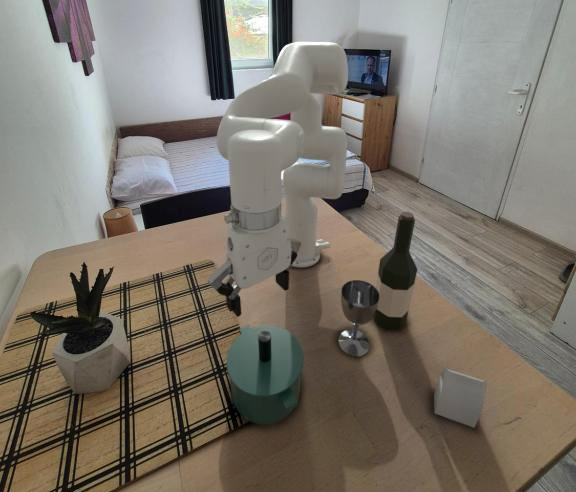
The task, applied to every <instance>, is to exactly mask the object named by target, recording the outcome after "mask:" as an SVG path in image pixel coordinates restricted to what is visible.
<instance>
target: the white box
mask: <svg viewBox="0 0 576 492" xmlns="http://www.w3.org/2000/svg"><path fill="white" fill-rule="evenodd" d="M487 382H488V381H487V380H483V379H480V378H478V377H474V376H471V375H468V374H464V373H462V372H458V371H455V370H452V369H449V368H444V369H443V371H442V372H441V373H440V374H439V378H438V381H437V383H436V387H435V391H434V394H433V403H434V405H433V407H434V414H435V415H438V416H440V417H443V418H446V419H449V420H451V421H454V422H457V423H459V424H463V425H465V426H468V427H471V428H473V429H475V428H476V425H477V423H478V420H479V418H480V416H481V414H482V411H483V408H484V404H485V397H486V396H485V395H486V390H487V386H488V383H487Z"/></svg>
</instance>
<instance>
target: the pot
mask: <svg viewBox="0 0 576 492" xmlns="http://www.w3.org/2000/svg"><path fill="white" fill-rule="evenodd" d="M251 328H252V327H251V325H250V324H246V325H245V326H243V327H240V328H239V329H238V333H239V336H240V335H241V334H242V333H244V332H245V331H247V330H249V329H251ZM229 380H230V390H231V400H232V401H233V405H234V407H235V409H236V410H237V412H238V413H239V414H240V416H241V417H243V418H244V419H245V420H247V421H248V422H250V423H254V424H256V425H265V426H267V425H272V424H275V423H277V422H280V421H283V420H284V419H286V417H288V416H289V415H290V414H291V413H292V412H293V410H294V409H295V408H296V407H297V406H298V405H299V397H300V394H301V393H300V392H301V385H302V384H301V383H302V381H301V380H302V373H301V374H300V376H299V378H298V379H297V381H296V382H295V383H294V385H292V386H291V387H290V388H289V389H288V390H287V391H285V392H283V393H281V394H279V395H277V396H273V397H268V398H258V397H253V396H249V395H247V394H245V393H243V392H241V391H240V390H239V389H238V388H237V387H235V385H234V384H233V383H232V381H231V379H230V378H229Z"/></svg>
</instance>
